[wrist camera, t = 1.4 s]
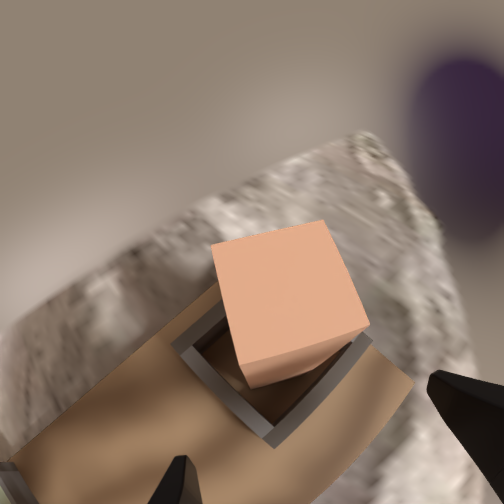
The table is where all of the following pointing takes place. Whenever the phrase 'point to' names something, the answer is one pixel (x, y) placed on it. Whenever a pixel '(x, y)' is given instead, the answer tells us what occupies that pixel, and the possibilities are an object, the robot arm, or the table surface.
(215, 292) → the puzzle board
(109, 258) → the table surface
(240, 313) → the block
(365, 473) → the table surface
